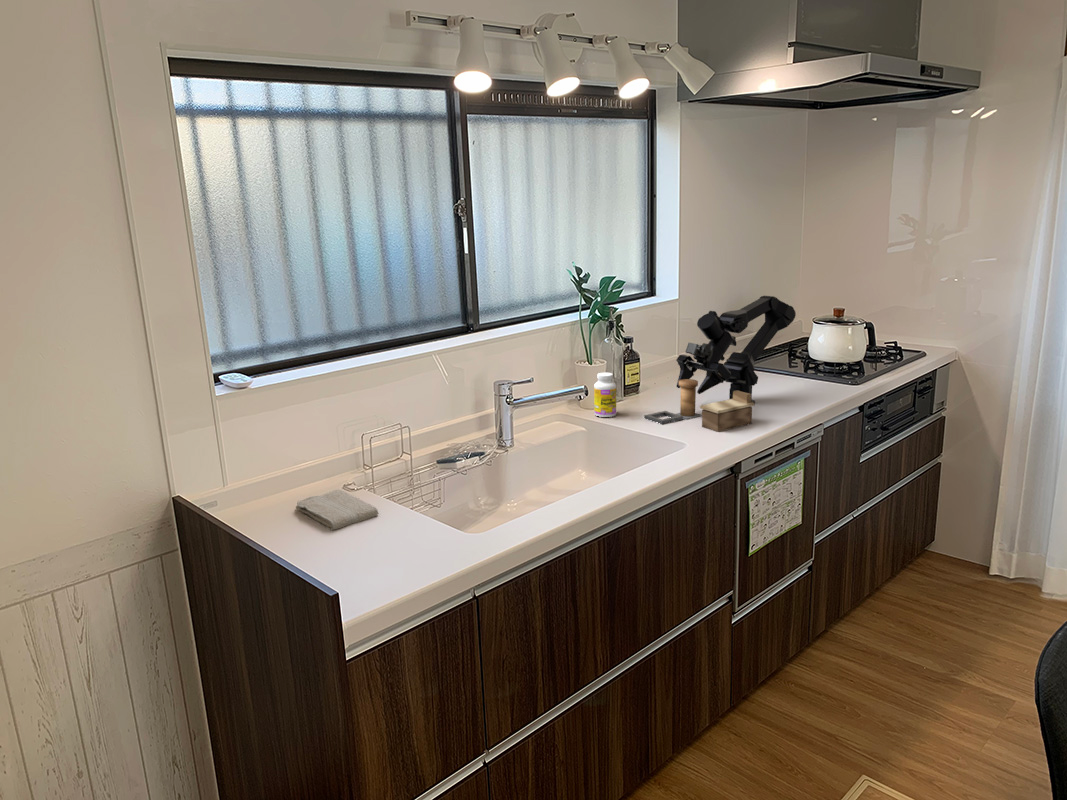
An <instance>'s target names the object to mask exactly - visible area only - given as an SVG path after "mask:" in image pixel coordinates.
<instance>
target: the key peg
mask: <svg viewBox="0 0 1067 800" xmlns="http://www.w3.org/2000/svg"><path fill="white" fill-rule="evenodd" d="M679 386H680V399H679V400H680V405H679V406H680V407H679V409H680V410H679V411H680V412H679V413H680V415H681V416H685V417H691V416H695V413H696V401H697V400H696V394H697V387H698V386H699V381H698V380H697V379H693V378H692V379H691V378H690V379H683V380H679Z"/></svg>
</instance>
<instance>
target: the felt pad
mask: <svg viewBox="0 0 1067 800" xmlns="http://www.w3.org/2000/svg"><path fill="white" fill-rule="evenodd" d="M676 414H677V415H680V412H677V413H676ZM680 416H681V415H680ZM699 417H702V414H700V413H697V412H695V416H691V417H685V416H683V420H690V418H691V419H695V418H699Z"/></svg>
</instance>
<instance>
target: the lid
mask: <svg viewBox="0 0 1067 800" xmlns="http://www.w3.org/2000/svg"><path fill="white" fill-rule="evenodd" d="M750 406H751V407H755V402H754V403H753V402H751V394H749V393H745V392H741V391H738V390H737V391H733V399H729V400H728V399H725V400H721V401H715V402H710V403H707V404H702V405H701V404H700V405H699V409H701V410H703V409H704V410H707V411H710V412H714V413H717V414H719V413H723V412H728V411H732V410H737V409H741V408H746V407H750Z"/></svg>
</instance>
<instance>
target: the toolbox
mask: <svg viewBox="0 0 1067 800" xmlns="http://www.w3.org/2000/svg"><path fill="white" fill-rule="evenodd" d="M701 415H702V416H701V427H702V428H705V429H708V430H710V431H713V432H716V433H718V432H723V431H727V430H733V429H735V428H739V427H744V426H748V424H749V425H751V424H753V406H750V407H746V408H741V409H737V410H732V411H728V412H723V413H719V414H717V413H714V412H710V411H707V410H704V409H701Z"/></svg>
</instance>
